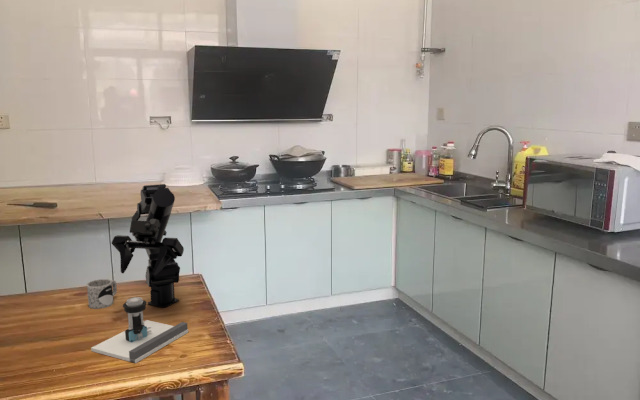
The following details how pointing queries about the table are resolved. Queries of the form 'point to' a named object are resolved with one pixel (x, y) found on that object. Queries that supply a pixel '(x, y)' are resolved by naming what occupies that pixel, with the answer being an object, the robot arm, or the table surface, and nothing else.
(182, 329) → the marker board
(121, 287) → the table surface
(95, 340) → the table surface
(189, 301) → the table surface
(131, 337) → the push button
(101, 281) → the mug
